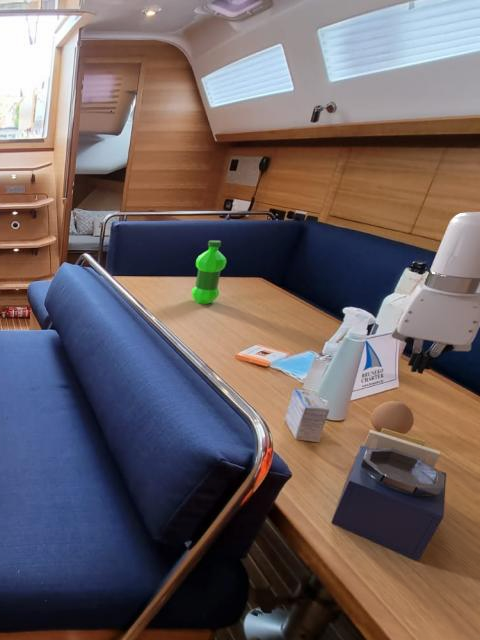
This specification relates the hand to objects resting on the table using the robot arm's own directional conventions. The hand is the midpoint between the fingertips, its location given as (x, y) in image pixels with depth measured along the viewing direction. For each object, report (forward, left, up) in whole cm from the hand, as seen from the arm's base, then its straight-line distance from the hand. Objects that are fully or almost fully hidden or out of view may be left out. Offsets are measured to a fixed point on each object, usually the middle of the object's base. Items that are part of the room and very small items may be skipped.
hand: (416, 370), depth 84 cm
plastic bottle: (-26, -86, -17) cm, 92 cm away
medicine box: (+15, -7, -17) cm, 24 cm away
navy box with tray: (+25, +16, -17) cm, 34 cm away
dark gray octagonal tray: (+25, +16, -7) cm, 30 cm away
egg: (-1, -1, -17) cm, 17 cm away
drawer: (+14, +10, -16) cm, 24 cm away
